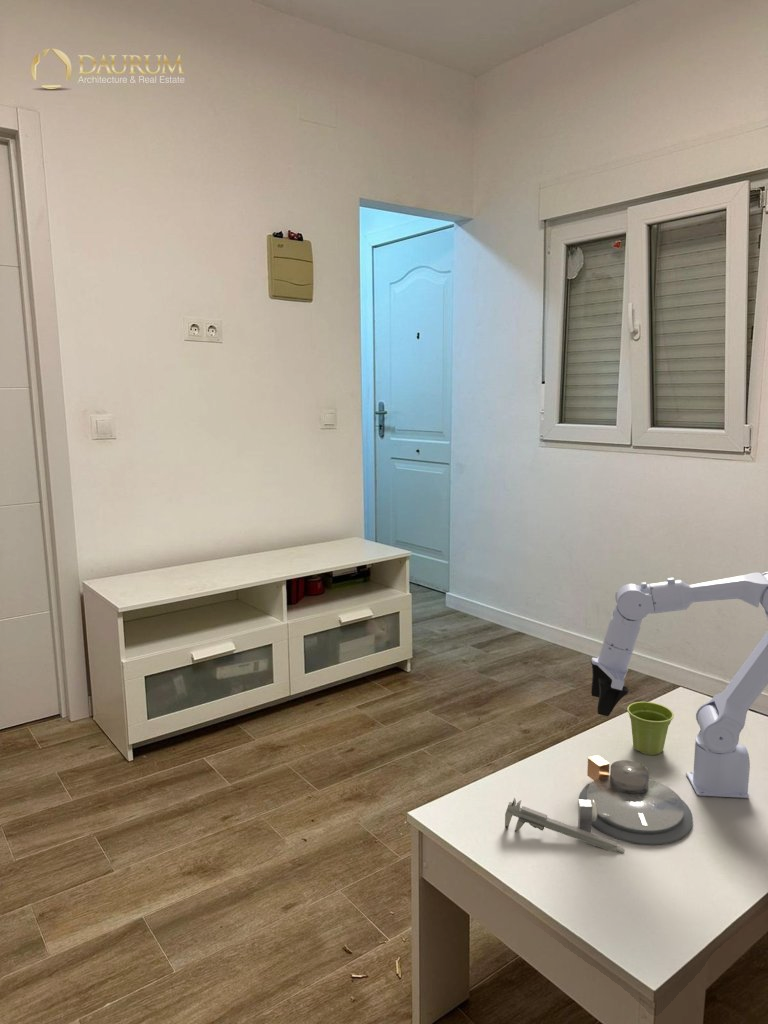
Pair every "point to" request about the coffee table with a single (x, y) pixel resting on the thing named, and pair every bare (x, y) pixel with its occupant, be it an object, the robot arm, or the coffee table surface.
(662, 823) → the turntable
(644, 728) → the plant pot
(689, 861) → the coffee table surface
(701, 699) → the coffee table surface
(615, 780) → the cover
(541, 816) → the caliper
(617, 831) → the plinth
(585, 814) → the block
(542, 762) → the coffee table surface
